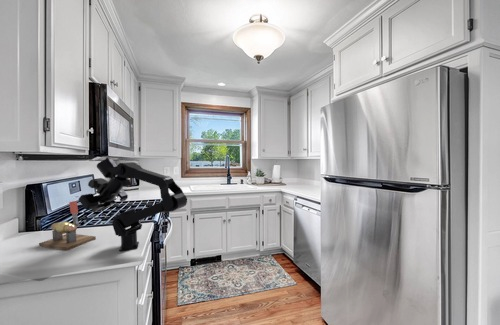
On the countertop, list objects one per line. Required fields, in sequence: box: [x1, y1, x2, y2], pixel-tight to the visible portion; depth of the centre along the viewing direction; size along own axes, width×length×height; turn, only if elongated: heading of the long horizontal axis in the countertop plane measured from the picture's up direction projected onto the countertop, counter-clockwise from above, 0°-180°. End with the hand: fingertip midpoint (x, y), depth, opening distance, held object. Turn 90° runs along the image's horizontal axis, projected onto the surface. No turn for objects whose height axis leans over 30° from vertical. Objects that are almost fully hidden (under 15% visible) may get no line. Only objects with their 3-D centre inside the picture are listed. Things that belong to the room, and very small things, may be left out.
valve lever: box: [68, 200, 80, 227], centre depth 101 cm, size 2×2×11 cm
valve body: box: [50, 221, 78, 244], centre depth 97 cm, size 11×6×8 cm, turn 73°
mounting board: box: [38, 233, 96, 251], centre depth 98 cm, size 16×12×1 cm
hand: (95, 210), depth 97 cm, fingers closed
